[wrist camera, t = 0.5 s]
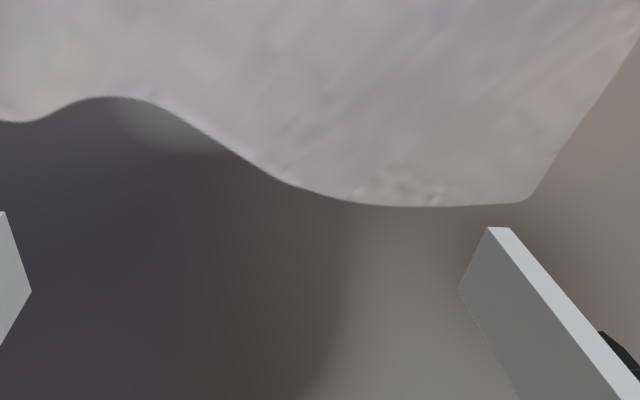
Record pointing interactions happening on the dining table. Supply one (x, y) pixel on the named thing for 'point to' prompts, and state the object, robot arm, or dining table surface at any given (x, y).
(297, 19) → the dining table surface
